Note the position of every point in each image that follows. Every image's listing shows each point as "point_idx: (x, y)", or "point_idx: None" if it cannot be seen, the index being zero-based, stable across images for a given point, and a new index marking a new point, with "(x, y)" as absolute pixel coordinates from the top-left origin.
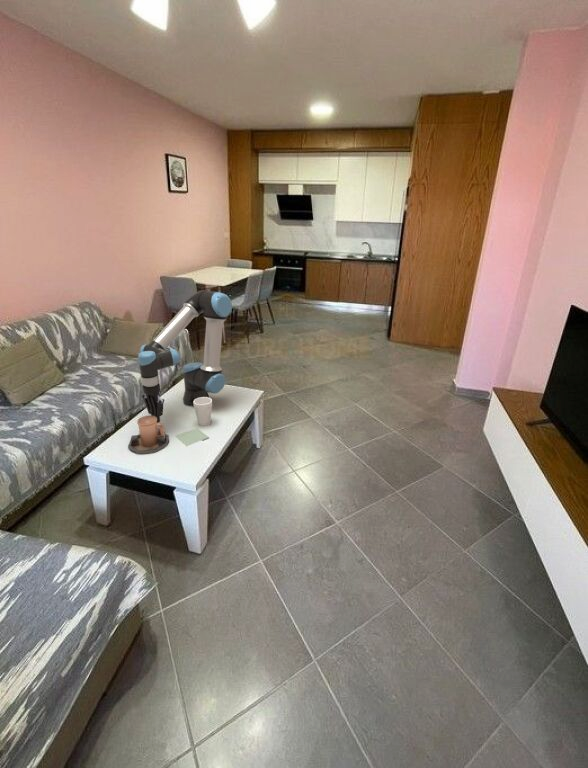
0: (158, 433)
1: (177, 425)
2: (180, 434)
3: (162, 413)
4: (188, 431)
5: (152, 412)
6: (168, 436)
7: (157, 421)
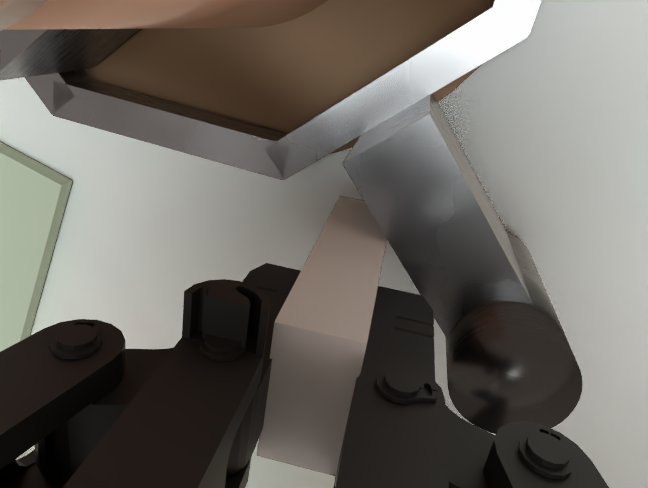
0: (275, 133)
1: None
2: (26, 239)
3: (13, 479)
4: (5, 328)
5: (342, 466)
6: (39, 90)
7: (267, 279)
